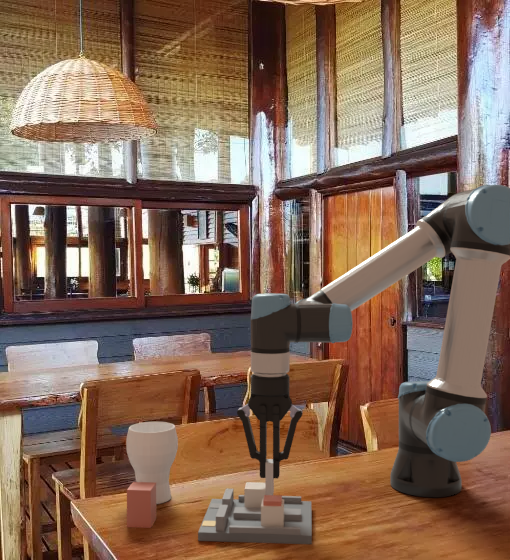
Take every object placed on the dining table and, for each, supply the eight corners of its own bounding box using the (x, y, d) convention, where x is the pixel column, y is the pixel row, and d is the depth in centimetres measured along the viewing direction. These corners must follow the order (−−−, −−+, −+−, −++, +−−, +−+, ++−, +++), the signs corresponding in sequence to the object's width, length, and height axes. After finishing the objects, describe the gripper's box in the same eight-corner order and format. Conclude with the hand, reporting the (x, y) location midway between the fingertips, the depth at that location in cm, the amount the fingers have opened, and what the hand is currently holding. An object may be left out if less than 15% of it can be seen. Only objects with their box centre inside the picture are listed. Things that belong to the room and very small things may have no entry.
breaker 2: (284, 520, 125) (284, 494, 124) (283, 529, 121) (283, 502, 120) (262, 520, 125) (262, 494, 125) (260, 528, 121) (260, 501, 121)
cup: (168, 509, 135) (168, 434, 135) (118, 505, 137) (117, 431, 137) (184, 491, 145) (184, 422, 145) (137, 488, 148) (137, 419, 147)
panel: (311, 508, 135) (311, 488, 135) (311, 544, 118) (311, 521, 118) (211, 506, 137) (211, 486, 137) (198, 540, 120) (198, 518, 120)
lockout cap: (156, 518, 130) (156, 482, 130) (150, 527, 126) (150, 490, 126) (133, 517, 131) (133, 481, 130) (127, 527, 126) (126, 489, 126)
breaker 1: (266, 502, 134) (266, 482, 134) (265, 510, 130) (265, 489, 130) (246, 502, 134) (246, 482, 134) (244, 509, 130) (244, 488, 130)
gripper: (303, 370, 134) (303, 488, 135) (238, 369, 135) (238, 486, 136) (303, 377, 127) (302, 502, 127) (234, 376, 128) (234, 500, 128)
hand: (269, 494), depth 132 cm, fingers closed
